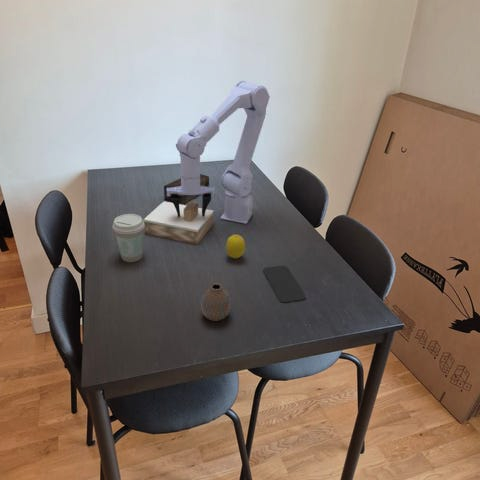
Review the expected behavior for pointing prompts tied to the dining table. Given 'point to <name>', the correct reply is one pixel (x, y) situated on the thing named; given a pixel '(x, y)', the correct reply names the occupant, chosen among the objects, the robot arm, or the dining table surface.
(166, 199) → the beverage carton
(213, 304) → the vase
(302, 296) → the phone
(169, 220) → the lid
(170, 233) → the box
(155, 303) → the dining table surface
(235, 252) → the lemon
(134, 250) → the coffee cup
